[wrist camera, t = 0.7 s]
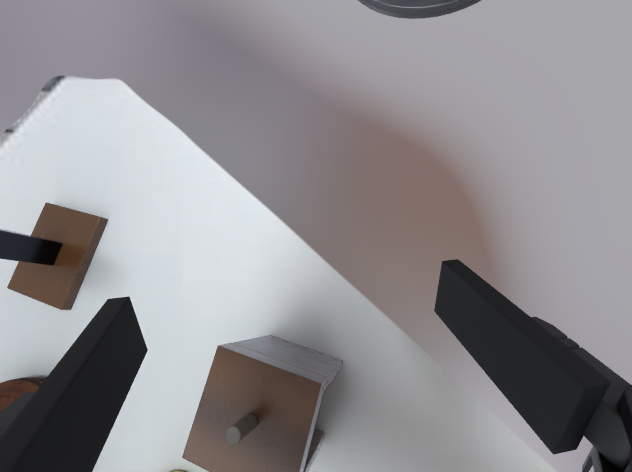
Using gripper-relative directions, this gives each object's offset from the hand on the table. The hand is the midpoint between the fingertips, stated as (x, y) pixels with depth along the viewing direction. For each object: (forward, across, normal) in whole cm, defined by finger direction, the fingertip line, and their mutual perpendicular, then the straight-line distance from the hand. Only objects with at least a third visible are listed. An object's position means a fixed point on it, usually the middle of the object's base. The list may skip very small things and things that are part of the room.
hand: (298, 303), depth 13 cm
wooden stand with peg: (+10, 0, -18) cm, 20 cm away
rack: (+29, -26, -10) cm, 40 cm away
